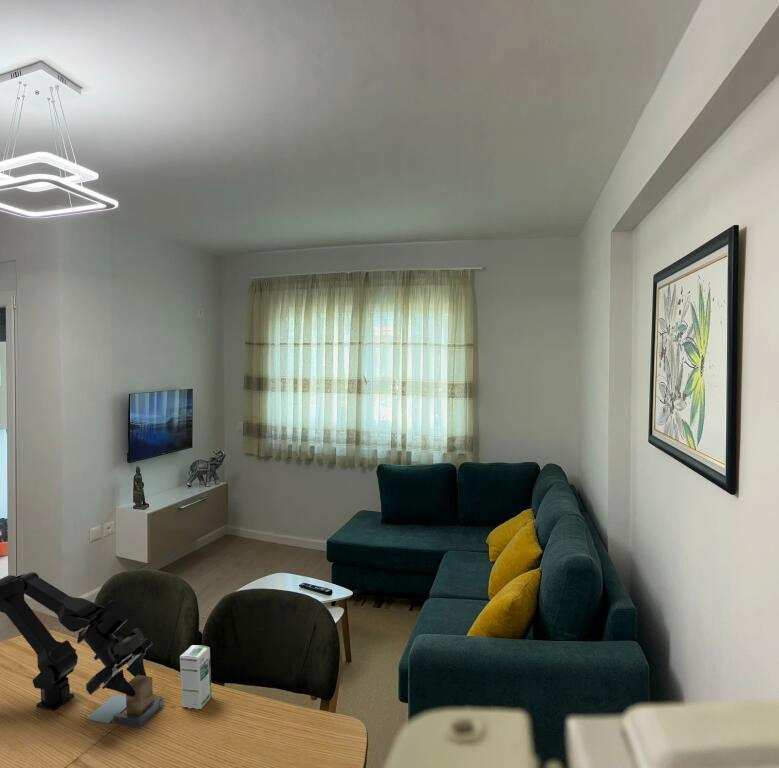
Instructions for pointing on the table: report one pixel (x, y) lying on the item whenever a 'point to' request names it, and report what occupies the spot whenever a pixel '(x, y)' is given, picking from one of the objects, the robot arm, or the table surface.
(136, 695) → the walnut block
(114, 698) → the mat
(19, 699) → the table surface
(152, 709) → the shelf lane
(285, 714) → the table surface
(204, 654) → the syrup box
